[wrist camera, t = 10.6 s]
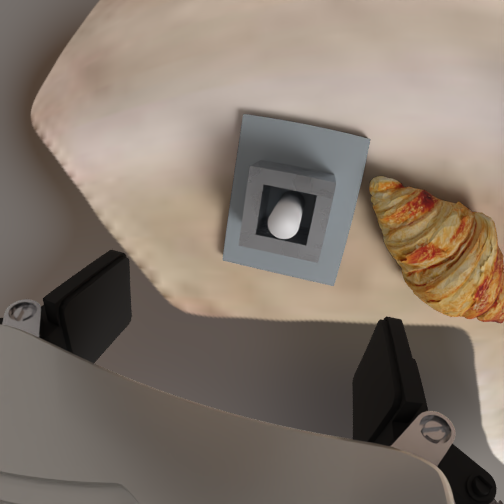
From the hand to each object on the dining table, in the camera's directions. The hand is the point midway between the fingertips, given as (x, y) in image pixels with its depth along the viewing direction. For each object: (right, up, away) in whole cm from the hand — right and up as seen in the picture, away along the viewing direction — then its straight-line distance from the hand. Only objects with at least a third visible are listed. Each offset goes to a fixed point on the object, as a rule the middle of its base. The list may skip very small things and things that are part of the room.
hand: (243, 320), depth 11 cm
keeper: (+4, +7, +18) cm, 20 cm away
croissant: (+19, +3, +17) cm, 26 cm away
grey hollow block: (+4, +7, +17) cm, 19 cm away
